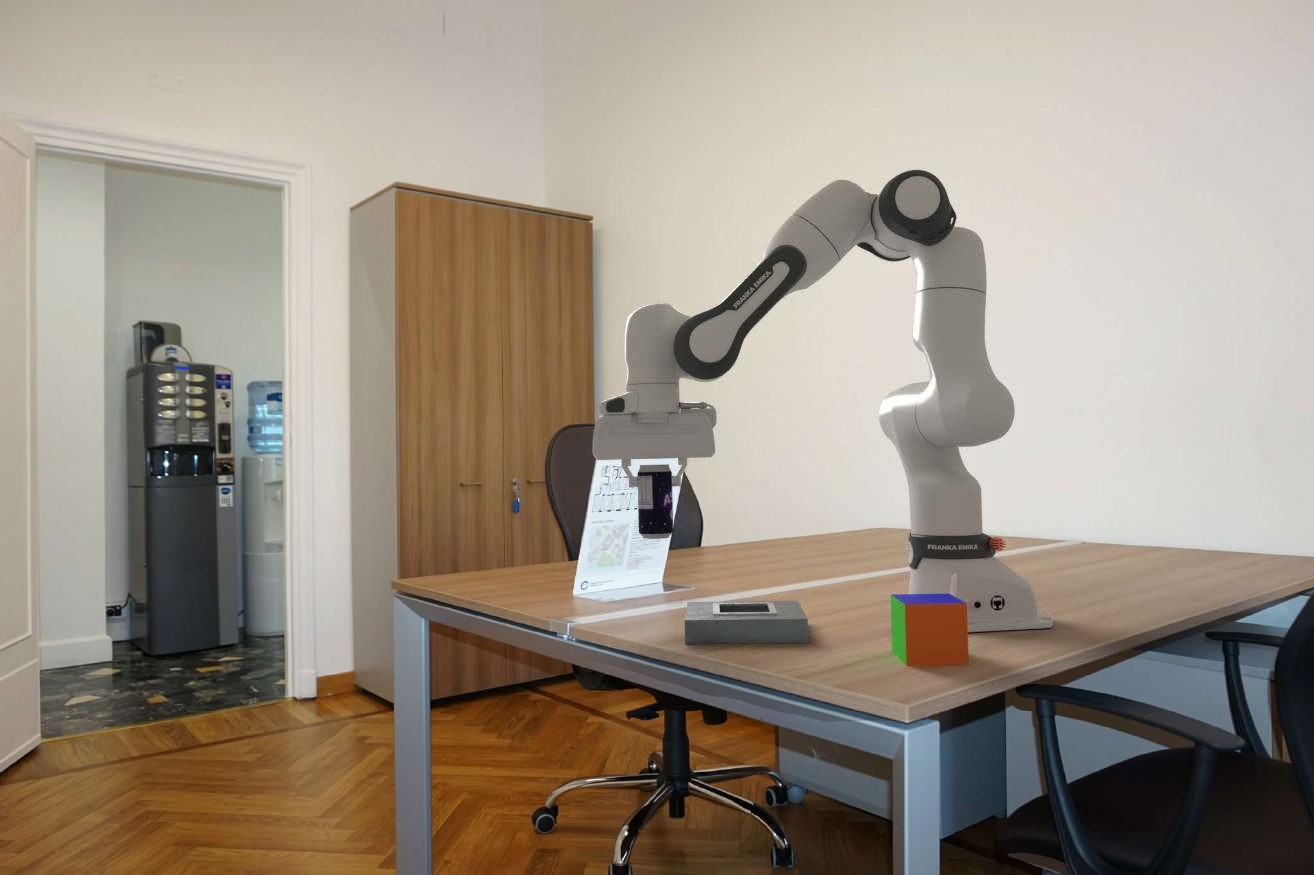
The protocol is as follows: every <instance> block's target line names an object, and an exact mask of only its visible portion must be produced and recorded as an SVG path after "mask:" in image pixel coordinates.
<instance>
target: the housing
mask: <svg viewBox="0 0 1314 875" xmlns="http://www.w3.org/2000/svg"><path fill="white" fill-rule="evenodd" d="M800 604H801V603H799V601H798V600H745V601H744V600H742V601H741V600H740V601H739V600H737V601H735V600H733V601H729V600H728V601H726V600H725V601H687V605H686V610H685V614H684V642H685V643H684V645H707V644H709V645H710V644H711V645H713V644H714V645H715V644H716V645H720V644H721V645H722V644H723V645H724V644H726V645H727V644H728V645H729V644H730V645H731V644H733V645H734V644H735V645H736V644H796V643H797V644H808V643H809V622H808V621H809V619H808V618H809V617H807V615H806V613H805V611H804V610H803V608H802V606H801V605H800Z"/></svg>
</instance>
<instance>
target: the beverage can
mask: <svg viewBox="0 0 1314 875" xmlns="http://www.w3.org/2000/svg"><path fill="white" fill-rule="evenodd" d="M636 474H637V476H638V487H637V500H638V501H637V509H638V510H637V512H638V513H637V514H638V517H637V518H638V533H639V535H640V536H642V538H643V539H646V540H657V539H658V540H660V539H669V538H670V536H671V535H672V534H673V533H674V511H673V510H674V505H673V504H674V502H673V501H674V500H673V487H672V482H673V481H672V476H673V472H672V470H671V468H670V464H639V469H638V471H637V473H636Z"/></svg>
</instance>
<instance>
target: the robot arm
mask: <svg viewBox="0 0 1314 875" xmlns="http://www.w3.org/2000/svg"><path fill="white" fill-rule="evenodd" d="M955 211H956V210H954V207H953V206H952V204H951V202H950V198H949V195H948V192H947V190H946V188H945V186H944V184H943V183H942V181H941V180H940V179H939V178H938V177H937V176H936V175H935V174H933V173H932V172H930V171H926V170H924V169H911V170H907V171H904V172H903V171H902V172H901V173H899V174H897V175H896V176H894V177H893V178H891V179H889V181H888V182H886V184H885V185H884V186H883V188H882V189H881V191H880V193H879V194H877V193H870V192H868V191H865V189H863V188H862V187H861V186H860V185H858V184H857V183H856V182H852V181H851V180H847V179H836V180H834V181H831V182H830V183H829V184H827V185H826V186H824V187H823V188H821V189H819V190H818V191H817V192H816V193H815V194H813V195H812V196H811V197H809V198H808V199H807V200H806V201H805V202H803V203H802V204H801V205H800V206H799V207H798V208H797V209H796V210H795V211H794V212H793V213H792V214H791V215H790V216H789V217H788V218H787V219H786V221H784V223H783V224H781V226H780V227H779V228H778V230H777V231H776V233H775V234H774V235H773V236H772V238H771V239H770V240H769V242H768V244H767V246H766V247H765V249H764V251H763V254H762V256H761V257H760V260H759V261H758V263H757V264H756V266H755V267H754V269H753V270H752V271H751V272H750V273H749V274H748V275H747V276H746V277H745V278H744V279H743V280H742V281H741V282H740V283H739V284H738V285H737V286H736V287H735V288H734V289H733V291H732V292H730V293H729V294H728V295H727V296H725V298H724V299H723V300H722V301H721V302H720V303H719V304H718V305H716V306H714V307H712V308H710V309H708V310H705V311H703V312H700V313H697V314H695V315H693V316H690V315H687V314H685V313H684V312H682V311H680V310H679V309H677V308H676V307H675V306H673V305H672V304H671V303H663V302H662V303H659V302H658V303H652V304H648V305H644V306H641V307H638V308H636V309H635V310H633V311H632V312H631V314H629V316H628V318H627V321H626V326H625V327H626V328H625V333H624V338H625V339H624V353H625V354H624V359H625V364H626V367H627V377H626V381H625V392H624V393H623V394H621V395H616V396H614V397H611V398H607V399H605V400H603V401H601V402H600V403H599V406H598V410H599V413H600V415H601V416H599V417H598V418H597V419H596V422H595V423H594V428H593V435H592V451H591V452H592V456H593V458H594V459H595V460H597V461H615V460H617V461H618V460H621V468H622V470H623V471H624V473H625V475H626V476H627V478H628V488H631V489H632V488H638V475H637V476H636V475H635V476H634V475H633V472H632V470H630V467H631V466H632V460H651V459H652V460H657V459H658V460H659V459H660V460H661V459H664V460H665V459H677V462H678V464H677V465H679V466H680V469H678V472H677V474H676V475H672V488H673V487H682V477H681V476H682V475H683V473H684V471H685V469H686V468H687V466H688V459H694V458H695V459H696V458H697V459H699V458H700V459H701V458H704V459H705V458H707V459H709V458H712V457H713V456H714V455H715V453H716V442H715V434H714V428H715V427H716V424H717V422H718V421H717V410H716V408H715V406H714V405H712V404H710V403H708V402H707V401H697V402H694V401H693V402H690V401H685V402H684V401H681V400H680V399H681V398H680V379H687V380H692V381H695V382H699V383H711V382H714V381H717V380H718V379H720V378H722V377H723V376H724V375H725V374H727V373H728V372H729V371H730V370H731V369H732V368H733V366H734V365H735V363H736V362H737V360H738V358H739V355H740V352H741V349H742V346H743V343H744V341H745V339H746V337H747V336H748V335H749V333H750V332H751V330H753V329H754V327H755V326H757V324H759V322H761V320H762V319H763V318H764V317H765V316H766V315H767V314H769V312H770V311H771V310H772V309H773V308H774V307H775V306H776V305H777V304H778V303H779V302H780V301H782V299H784V298H785V297H786V296H788V295H790V294H792V293H794V292H797V291H802V290H806V289H808V288H810V287H811V286H813V285H814V284H816V283H817V282H818V281H820V280H821V279H823V277H825V276H826V275H827V274H829V272H830V271H832V270H833V269H834V268H835V267H836V266H837V265H838V263H840V261H842V259H843V258H844V257H845V256H846V255H847V254H848V253H849V252H850V251H851V250H852V249H854V248H855V247H856V246H857V247H858V248H860V249H862V250H865V251H867V252H869V253H870V254H872V255H874V256H875V257H877V258H879V259H880V260H884V261H886V262H894V263H895V262H902V261H905V260H907V259H910V258H911V260H912V261H913V264H914V266H915V273H916V274H915V275H916V276H917V277H916V282H915V283H916V284H915V292H914V293H915V296H914V310H913V323H912V324H913V326H912V327H913V328H912V341H913V343H914V346H915V347H916V348H917V349H918V350H919V351H920V352H921V353H923V354H924V356H925V359H926V362H927V365H928V370H929V380H927V381H921V382H920V381H919V382H912V383H908V384H906V385H904V386H901V387H899V388H897V389H895V390H894V391H892V392H890V393H888V394H887V395H886V396H885V398H884V399H883V401H882V402H881V405H880V408H879V414H878V420H879V425H880V427H881V428H880V429H881V431H882V432H883V433H884V435H885V436H886V437H887V439H889V440H890V441H891V442H892V444H893V445H894V448H895V449H896V451H897V454H898V455H899V458H900V461H901V463H902V467H903V469H904V472H905V477H906V481H907V487H908V496H909V498H908V499H909V514H910V515H909V518H910V520H909V521H910V532H909V533H908V534H907V535H908V537H907V539H908V540H907V560H908V565H909V569H910V571H909V572H910V575H909V582H908V583H909V585H908V592H907V594H951V595H952V596H954V597H956V598H958V599H960V600H962V601H964V602H966V603H967V623H968V633H975V632H976V633H978V632H997V631H1011V630H1012V631H1013V630H1016V631H1017V630H1031V629H1033V630H1034V629H1035V630H1036V629H1050V628H1052V627H1054V620H1053V618H1052V616H1050V615H1049V614H1048V613H1045V612H1044V611H1043V612H1042V611H1040V610H1038V606H1037V599H1036V596H1035V595H1036V594H1035V592H1034V589H1033V587H1032V585H1031V584H1030V583H1029V581H1028V580H1026V579H1025V578H1024V577H1023V576H1021V575H1020V574H1018V573H1017V572H1016V571H1014V570H1013V569H1012V568H1011V567H1009V566H1008V565H1007V564H1005V563H1004V562H1003V561H1001V560H1000V559H998V558H997V557H996V556H995V555H996V552H1001V551H1003V550H1004V548H1006V541H1004V539H1003V538H1000V537H999V536H994V537H992V536H989V535H988V534H986V533H985V532H983V507H982V506H983V504H982V500H983V498H982V487H981V484H980V482H979V481H978V480H977V479H976V477H974V476H973V475H972V474H971V473H970V472H969V470H968V469H967V468H966V466H965V463H964V462H963V459H962V456H961V453H960V449H959V448H969V447H971V448H972V447H973V448H974V447H978V446H982V445H985V444H988V443H991V442H995V441H997V440H999V439H1001V438H1003V437H1005V435H1007V433H1008V432H1009V430H1010V429H1011V428H1012V426H1013V423H1014V420H1015V412H1016V408H1015V402H1014V399H1013V396H1012V394H1011V392H1010V390H1009V389H1008V388H1007V386H1005V384H1004V383H1003V382H1001V381H1000V380H999V379H998V378H997V376H996V375H995V373H994V371H993V368H992V366H991V364H990V360H989V356H988V353H987V348H986V338H985V336H986V335H985V334H986V333H985V332H986V308H987V305H986V304H987V302H986V301H987V264H986V263H987V262H986V254H985V250H984V242H983V240H982V238H981V237H980V235H979V234H978V233H976V232H975V231H974V230H971V229H969V228H966V227H961V226H955V225H956V222H957V213H956V212H955ZM708 407H709V408H708Z"/></svg>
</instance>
